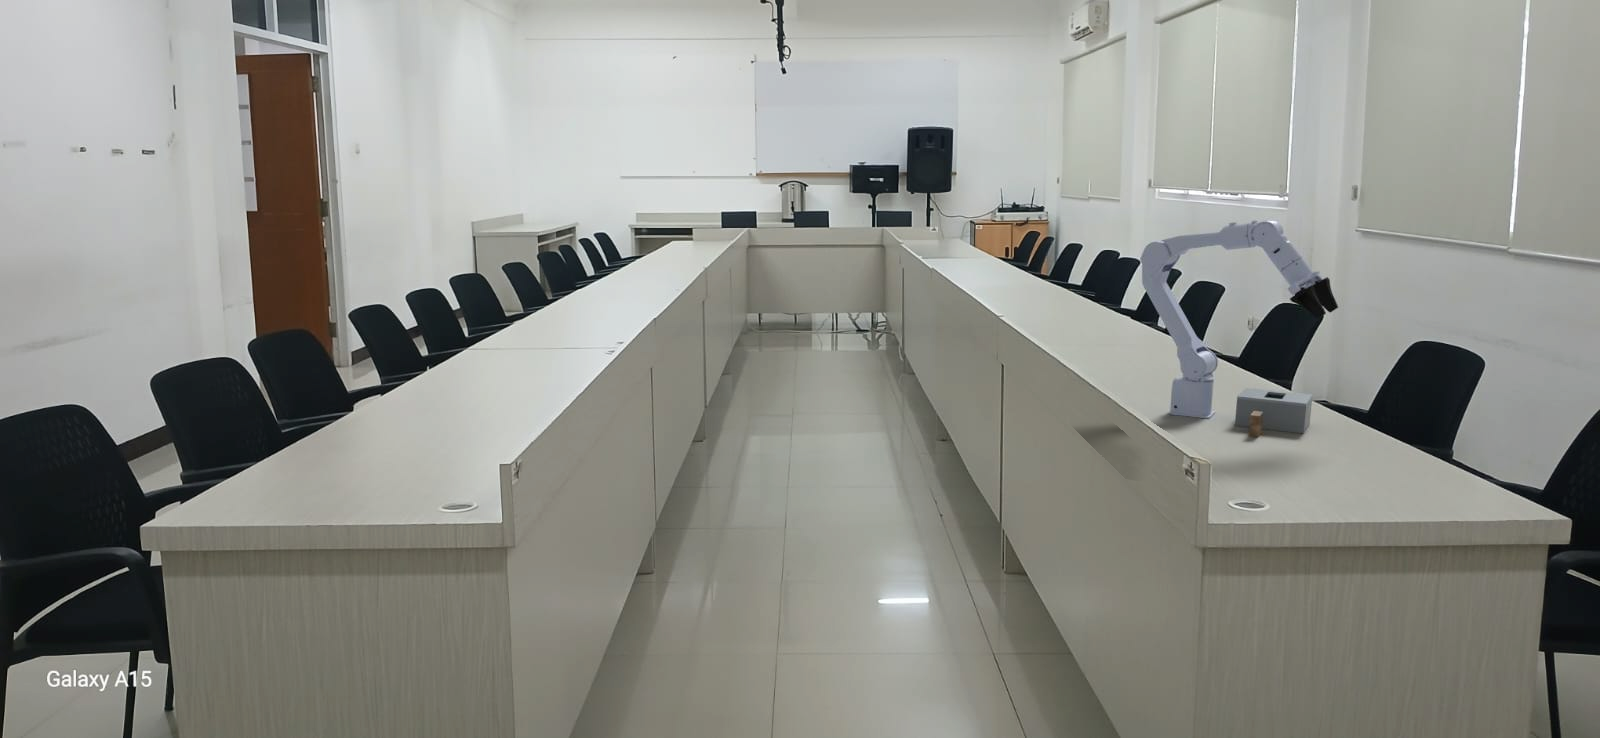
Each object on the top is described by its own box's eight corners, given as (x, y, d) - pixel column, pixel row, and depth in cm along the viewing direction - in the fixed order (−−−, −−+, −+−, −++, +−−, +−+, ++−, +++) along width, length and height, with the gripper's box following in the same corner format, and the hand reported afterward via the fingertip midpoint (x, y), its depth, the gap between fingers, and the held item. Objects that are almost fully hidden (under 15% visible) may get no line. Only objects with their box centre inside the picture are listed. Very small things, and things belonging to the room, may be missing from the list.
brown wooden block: (1248, 436, 262) (1250, 415, 261) (1252, 432, 267) (1253, 410, 266) (1257, 437, 261) (1259, 416, 261) (1261, 433, 266) (1263, 411, 265)
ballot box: (1234, 425, 273) (1237, 396, 271) (1243, 415, 283) (1245, 387, 282) (1303, 433, 265) (1306, 403, 264) (1309, 423, 276) (1312, 394, 274)
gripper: (1293, 259, 259) (1330, 309, 255) (1317, 250, 269) (1354, 297, 265) (1267, 277, 263) (1304, 326, 260) (1292, 267, 273) (1328, 314, 270)
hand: (1328, 313), depth 263 cm, fingers open, 7 cm apart
